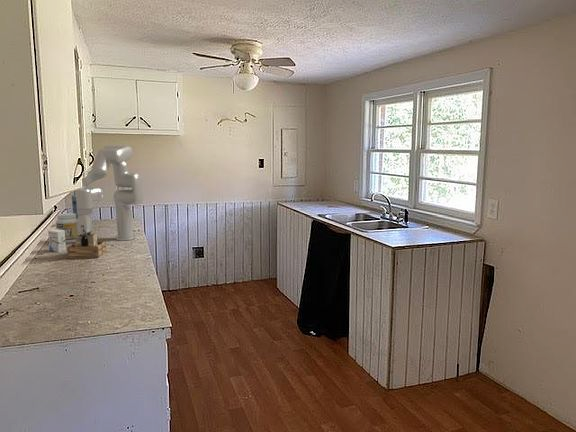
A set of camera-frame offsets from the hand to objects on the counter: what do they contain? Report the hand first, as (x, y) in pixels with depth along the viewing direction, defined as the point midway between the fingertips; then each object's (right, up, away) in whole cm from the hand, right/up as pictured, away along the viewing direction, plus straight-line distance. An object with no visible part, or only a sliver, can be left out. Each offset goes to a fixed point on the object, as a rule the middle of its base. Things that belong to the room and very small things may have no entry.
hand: (86, 244), depth 240 cm
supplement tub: (-27, -1, +35) cm, 44 cm away
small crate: (0, -1, 0) cm, 1 cm away
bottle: (-43, +8, +87) cm, 97 cm away
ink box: (-21, -4, +11) cm, 24 cm away
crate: (0, -6, +1) cm, 6 cm away
